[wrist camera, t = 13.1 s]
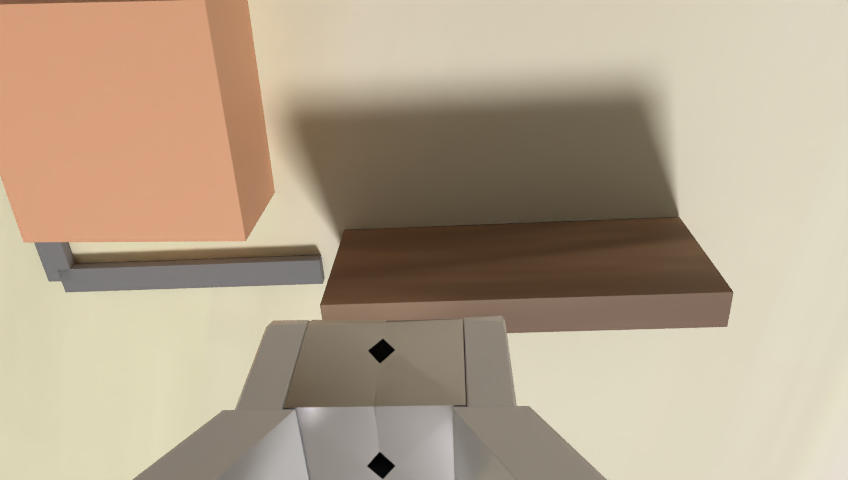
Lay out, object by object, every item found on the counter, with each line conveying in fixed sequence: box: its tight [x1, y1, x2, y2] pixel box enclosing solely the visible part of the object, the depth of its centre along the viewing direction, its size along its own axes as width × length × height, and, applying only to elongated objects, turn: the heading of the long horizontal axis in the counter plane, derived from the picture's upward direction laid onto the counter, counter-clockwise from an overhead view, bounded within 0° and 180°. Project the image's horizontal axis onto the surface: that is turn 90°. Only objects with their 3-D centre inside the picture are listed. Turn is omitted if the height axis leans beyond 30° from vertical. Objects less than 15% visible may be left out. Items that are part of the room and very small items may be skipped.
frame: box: [34, 242, 324, 292], centre depth 22 cm, size 14×10×1 cm
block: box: [0, 0, 275, 242], centre depth 20 cm, size 7×7×4 cm
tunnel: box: [320, 217, 733, 333], centre depth 19 cm, size 12×12×5 cm
